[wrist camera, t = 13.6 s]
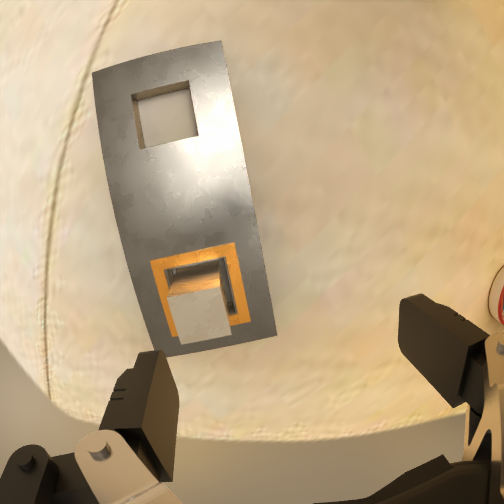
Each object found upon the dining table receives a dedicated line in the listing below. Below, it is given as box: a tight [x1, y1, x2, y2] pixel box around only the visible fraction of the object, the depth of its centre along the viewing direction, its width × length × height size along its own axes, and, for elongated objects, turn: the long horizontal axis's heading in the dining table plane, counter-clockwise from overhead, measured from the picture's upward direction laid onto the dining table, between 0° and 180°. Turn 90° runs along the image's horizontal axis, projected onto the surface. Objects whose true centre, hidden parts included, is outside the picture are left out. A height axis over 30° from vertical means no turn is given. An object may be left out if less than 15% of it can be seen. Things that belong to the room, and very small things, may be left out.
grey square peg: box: [167, 260, 232, 345], centre depth 27 cm, size 4×4×8 cm
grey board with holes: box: [92, 41, 277, 357], centre depth 28 cm, size 28×12×3 cm, turn 11°
